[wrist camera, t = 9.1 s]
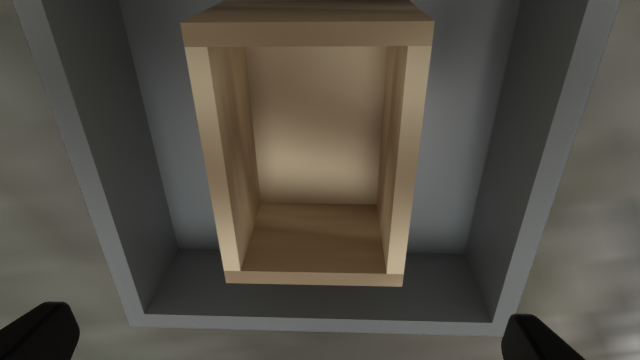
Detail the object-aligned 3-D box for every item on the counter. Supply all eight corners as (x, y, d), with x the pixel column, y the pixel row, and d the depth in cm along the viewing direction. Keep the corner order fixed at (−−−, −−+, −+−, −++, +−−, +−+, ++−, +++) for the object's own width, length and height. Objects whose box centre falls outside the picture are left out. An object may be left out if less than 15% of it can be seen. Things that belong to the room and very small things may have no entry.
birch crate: (387, 208, 19) (402, 286, 15) (251, 206, 19) (226, 283, 15) (406, -3, 14) (435, 21, 10) (227, -1, 15) (179, 22, 10)
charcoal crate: (473, 256, 21) (507, 336, 17) (171, 250, 22) (130, 326, 17) (563, -125, 13) (673, -158, 9) (79, -117, 14) (-40, -144, 9)
